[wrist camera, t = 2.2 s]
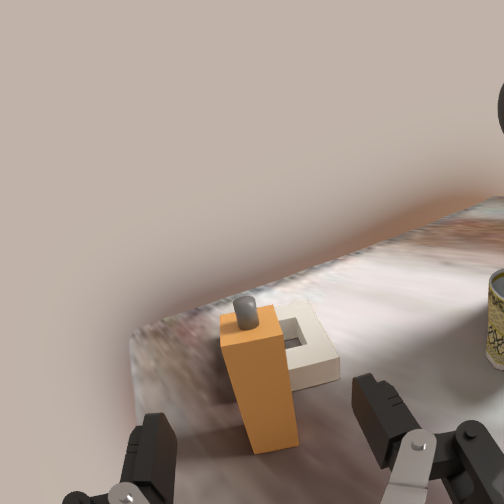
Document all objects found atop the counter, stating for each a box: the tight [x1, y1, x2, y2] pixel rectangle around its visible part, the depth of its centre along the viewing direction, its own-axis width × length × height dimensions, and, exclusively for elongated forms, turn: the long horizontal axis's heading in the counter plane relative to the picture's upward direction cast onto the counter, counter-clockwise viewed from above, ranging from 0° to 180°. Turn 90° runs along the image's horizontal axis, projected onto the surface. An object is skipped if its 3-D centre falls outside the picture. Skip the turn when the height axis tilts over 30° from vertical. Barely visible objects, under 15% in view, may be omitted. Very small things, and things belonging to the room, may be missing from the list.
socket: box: [274, 300, 340, 391], centre depth 39 cm, size 14×12×4 cm
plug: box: [220, 296, 299, 454], centre depth 25 cm, size 4×4×16 cm
